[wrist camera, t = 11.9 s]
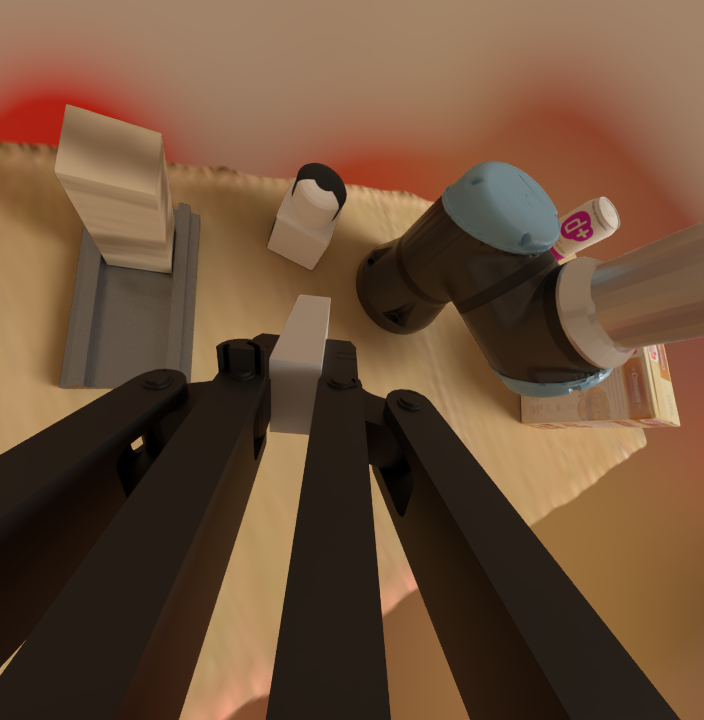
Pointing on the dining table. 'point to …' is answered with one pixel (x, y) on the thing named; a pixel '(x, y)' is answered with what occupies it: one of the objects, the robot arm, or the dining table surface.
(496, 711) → the robot arm
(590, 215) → the supplement can
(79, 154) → the birch block
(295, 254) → the medicine bottle
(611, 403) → the coffeecake box
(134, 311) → the guide track
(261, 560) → the dining table surface
